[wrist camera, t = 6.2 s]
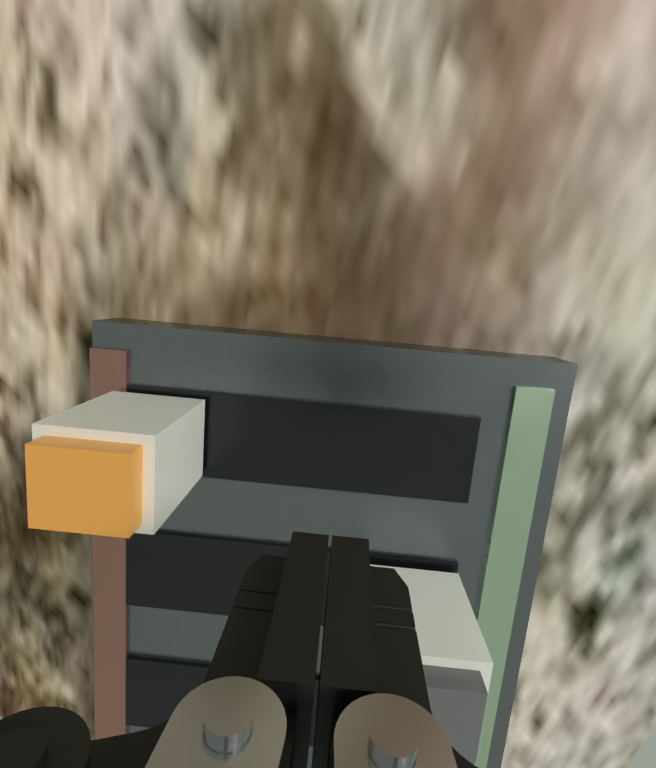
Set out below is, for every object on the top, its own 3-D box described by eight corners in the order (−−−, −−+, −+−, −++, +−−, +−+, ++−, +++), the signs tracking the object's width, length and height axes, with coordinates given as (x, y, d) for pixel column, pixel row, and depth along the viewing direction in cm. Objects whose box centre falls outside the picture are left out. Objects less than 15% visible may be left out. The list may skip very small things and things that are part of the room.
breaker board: (118, 318, 19) (89, 320, 17) (553, 357, 19) (580, 365, 17) (118, 720, 23) (95, 763, 21) (480, 762, 23) (494, 811, 20)
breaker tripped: (112, 390, 17) (11, 432, 12) (205, 399, 17) (142, 444, 12) (112, 466, 18) (16, 536, 13) (202, 475, 18) (141, 549, 13)
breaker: (368, 563, 18) (376, 671, 13) (458, 573, 18) (502, 685, 13) (361, 631, 19) (365, 760, 14) (447, 640, 19) (486, 774, 13)
